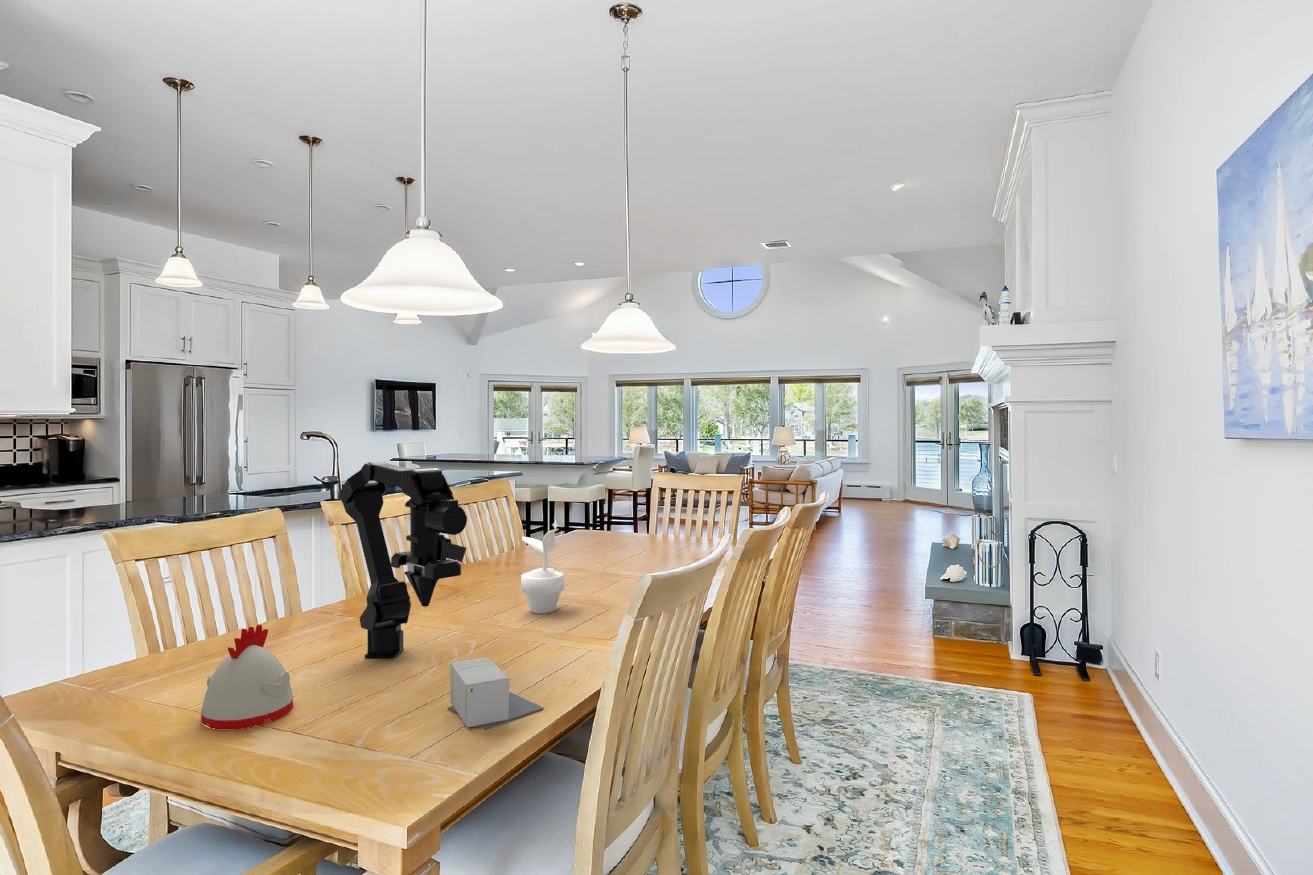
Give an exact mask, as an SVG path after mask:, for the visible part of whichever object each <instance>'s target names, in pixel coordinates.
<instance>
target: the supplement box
mask: <svg viewBox="0 0 1313 875" xmlns="http://www.w3.org/2000/svg"><path fill="white" fill-rule="evenodd" d="M449 664H450V668H449V669H450V677H449V678H450V679H449V680H450V687H449V688H450V689H449V691H450V693H449V695H450V697H449V699H450V700H449V701H450V703H451V706H453V707H454V708H455V710H456V711H457V713H458V714H459V715H458V716H459V718H461V720H462V722H463V723H464V725H465V726H466V728H471V727H472V728H473V727H479V725H484V724H489V723H494V722H499V721H504V720H508V719H509V692H510V678H509V677H508V676H507V675H506V674H505V673H504V672H503V670H502V669H501V668H500V667H499V666H498V665H497V664H496V663H495V662H494V661H493V660H492V659H491V658H490V657H489V656H488V657H482V658H476V659H475V658H474V659H467V660H462V661H454V662H450V663H449Z"/></svg>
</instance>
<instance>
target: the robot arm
mask: <svg viewBox="0 0 1313 875" xmlns="http://www.w3.org/2000/svg"><path fill="white" fill-rule="evenodd" d="M388 486H391V487H396V488H399V489H401V492H402V494H404V495H406V496H407V497H409V498H410V499H408V500H407V501H406V502H405V504H404V506H405V507H407V508H409V509H410V510H409V511H410V512H409V513H410V514H409V515H410V516H409V521H410V524H409V525H410V526H409V528H410V532H409V533H410V534H407V535H406V536H405V537H406V541H408V542H410V545H409V546H410V550H409V551H402V552H401V551H400V552H395V553H394V554H393V555H392V556H391V558H390V555H389V554H390V553H389V550H388V547H387V546H388V545H387V542H386V539H385V533H384V530H383V526H382V523H381V518H380V513H381V511H382V508H383V506H384V497H383V496H384V495H385V494H386V492H387V491H388V489H389V487H388ZM453 494H454V492H453V491H452V489H451V488H450V486H449V484H448V481H447V479H446V477H445V475H444V473H443V471H442V470H441V469H440V468H437V467H435V468H420V469H419V468H418V469H412V468H408V467H404V466H399V465H395V464H391V463H388V462H386V461H373V462H371V461H370V462H369V461H368V462H367V463H364V464H363V465H362V467H361V469H360V470H358V471H357V472H355V473H354V474H353V475H351V476H350V477H348V478H347V479H346V481H345V482H344V484H343V486H342V487H341V489H340V492H339V498H340V502H341V503H342V506H343V507H344V508H343V509H344V511H345V513H346V514H347V515H348V516H349V517H350V518H351V519H352V520H353V521H354V522H355V523H356V526H357V531H358V532H357V533H358V535H359V539H360V542H361V548H362V551H363V556H364V560H365V564H366V565H365V566H366V569H367V573H368V577H369V581H370V586H369V589H368V592H367V595H366V605H367V606H366V607H365V609H364V610H363V612H362V614H361V615H360V617H359V622H360V628H362V629H364V630H367V653H365V654H364V659H365V658H368V659H369V658H375V659H376V658H377V659H378V658H385V659H386V658H387V659H388V658H396V657H397V656H398V655H399V654H401V652H402V651H403V650H404V649H405V647H404V630H402V624H403V625H404V624H407V623H408V621H409V618H410V617H409V616H410V612H411V608H412V603H411V602H412V601H411V596H410V595H409V591H408V585H407V583H406V582H405V581H404V580H403V581H399V580H398V579H397V578H396V577H395V575H394V570H393V568H394V569H400V568H401V566H407V570H406V571H404V572H403V573H404V575H405V576H406V578H407V579H408V581H409V584H410V585H411V587H412V588H413V591H414V593H415V594H416V597H417V599H418V600H419V602H420V605H421V606H422V607H424V608H425V607H429V606H430V603H431V600H432V597H433V594H434V590H435V588H436V584H437V583H438V581H439V580H441V579H446V578H452V577H458V576H459V577H460V576H462V564H460V563H459V562H461V563H462V562H463V560H464V558H465V554H466V551H467V547H466V546H463V545H462V546H461V545H458V544H454V543H452V539H451V538H448V537H447V538H446V536H445V535H444V534H446V535H451V536H456V535H459V534H460V533H462V532H463V531H464V530H465V527H467V526H466V525H467V523H468V516H467V514H466V511H465V510H464V508H462V507H461V506H459V500H458V499H455V498H454V495H453Z"/></svg>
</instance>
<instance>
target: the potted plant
mask: <svg viewBox="0 0 1313 875" xmlns="http://www.w3.org/2000/svg"><path fill="white" fill-rule="evenodd" d="M554 520H555V521H554V523H553V524H551V526H553V528H554V529H551V530H549V531H547V532H546V533H545V534H544V535H543V536H542V537H543V538H542V541H541V540H540V539H537V538H534V537H528V536H521V537H522V538H521V541H522V542H524V543H525V544H526V545H528V546H530V547H531V548H532V550H534V551H535V553H536V554H537V555H539V556H543V557H542V567H539V568H535V569H532V570H531V571H526V572H525V573H523V574H522V573H521V578H520V579H521V582H520V583H521V586H520V587H521V592H522V593H524V594H525V598H526V600H527V604H528V606H529V610H530V612H532V613H534V614H541V615H543V614H550V613H552V612H554V611H555V610H556V608H557V605H558V601H559V599H560V596H561V593H562V591H565V574H564V572H561V571H557V570H554V568H553V567H548V566H549V558H550V556H549V553H551V552H552V551H553V550H554V548H555V544H556V538H557V537H556V536H555V533H556V532H558V531H559V528H557V527H558V526H560V524H558V523H557V518H555V519H554ZM559 535H560V537H562V536H563V535H564V533H563V531H562V530H560V533H559Z"/></svg>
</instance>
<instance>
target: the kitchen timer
mask: <svg viewBox="0 0 1313 875" xmlns="http://www.w3.org/2000/svg"><path fill="white" fill-rule="evenodd" d="M268 633H269V629H268V628H267V629H266V628H263V625H262V624H256V626H255V628H254V626H248V628H241V633H240V638H239V637H237V638H236V637H234V640H233V641H234V645H235V648H234V647H229V646H228V647H227V651H228V655H227V656H225V658H224V659H223V660H222V661H221V662H220V663H219V665H218V666H217V668H216V669H215V670H214V672H213V674H212V676H208V677H207V680H206V686H207V689H206V691H205V694H204V699H203V701H202V707H201V712H200V713H201V714H200V718H201V720H200V721H202V723H203V724H204V725H206V726H208V727H210V728H215V729H214V730H216V729H237V730H242V729H241V728H245V729H248V728H247V727H250V728H253V727H252V726H255V725H260V726H263V725H266V724H269V723H272V722H271V721H273V722H276V720H279V719H282V718H283V717H285V716H287V713H288V714H289V713H290V712H291V711H292V710H293V709H294V697H293V690H292V686H291V683H290V682H291V681H290V680H291V679H290V678H291V677H290V673H289V672H287V671H286V669H285V667H284V666H283V664H282V663H281V660H279V658H278V657H277V656H275V655H274V654H273V653H272V652H271V651H270V650H268V649H267V648H264V646H265V643H266V640H267V636H268ZM281 717H282V718H281ZM268 722H269V723H268ZM202 723H201V724H202ZM265 723H266V724H265ZM203 724H202V725H203ZM262 724H263V725H262ZM204 725H203V726H204ZM255 727H256V726H255ZM210 728H209V729H210Z"/></svg>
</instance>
